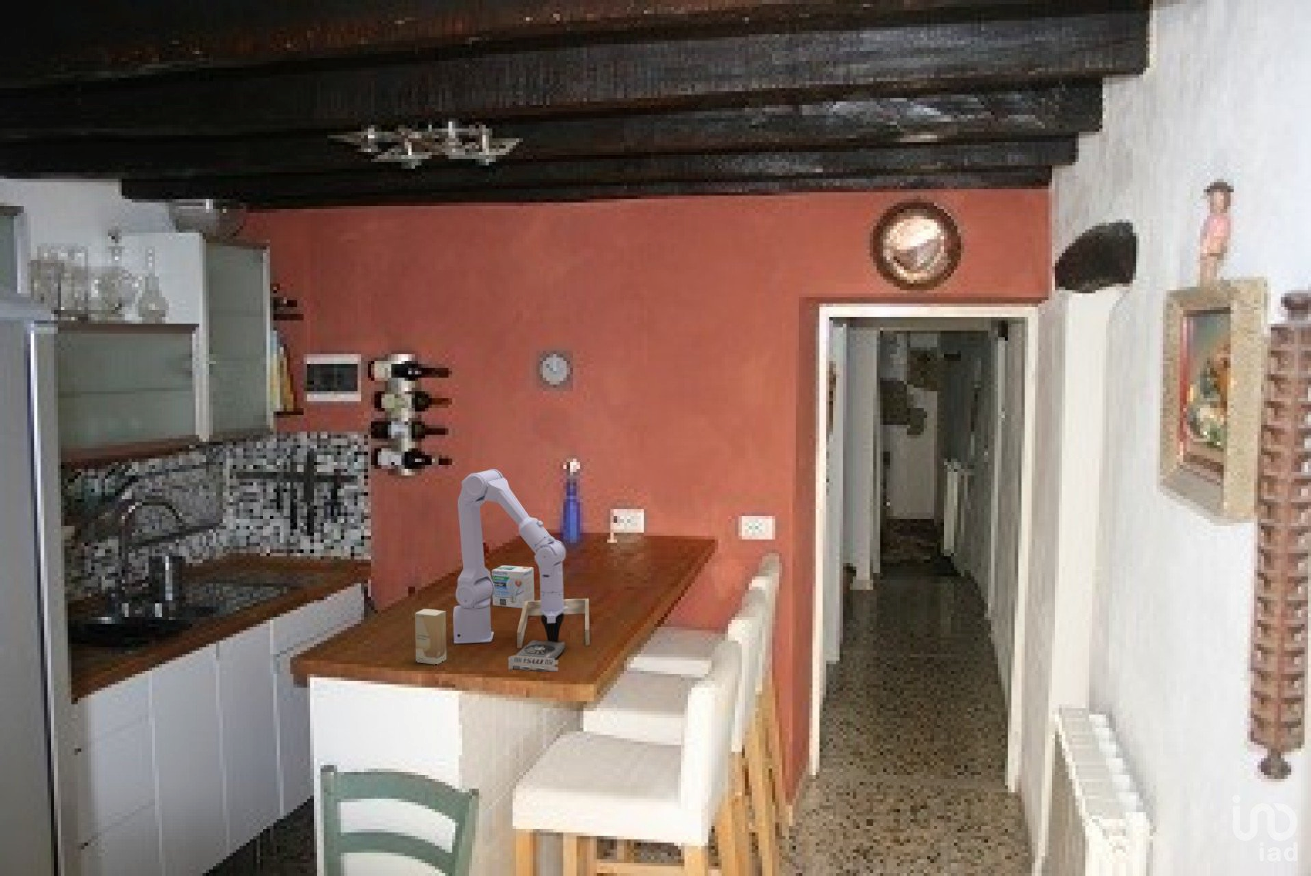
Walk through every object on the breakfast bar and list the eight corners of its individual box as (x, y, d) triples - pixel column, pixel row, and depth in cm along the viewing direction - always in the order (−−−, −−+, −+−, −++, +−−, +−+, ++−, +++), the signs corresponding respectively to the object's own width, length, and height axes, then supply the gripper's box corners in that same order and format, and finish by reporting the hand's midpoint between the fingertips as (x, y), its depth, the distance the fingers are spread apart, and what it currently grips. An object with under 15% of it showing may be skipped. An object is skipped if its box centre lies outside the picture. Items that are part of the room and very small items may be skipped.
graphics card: (556, 660, 225) (507, 656, 228) (556, 675, 226) (507, 672, 228) (576, 639, 242) (530, 636, 244) (576, 654, 242) (530, 651, 244)
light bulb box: (492, 605, 286) (490, 569, 285) (503, 600, 293) (502, 564, 292) (524, 608, 283) (523, 571, 282) (535, 602, 289) (534, 566, 288)
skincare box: (415, 662, 235) (413, 612, 234) (425, 657, 239) (423, 608, 238) (438, 665, 233) (436, 614, 232) (448, 659, 237) (446, 610, 236)
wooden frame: (517, 648, 245) (516, 632, 244) (524, 614, 275) (524, 601, 275) (589, 645, 246) (589, 629, 246) (589, 612, 277) (588, 598, 276)
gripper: (567, 597, 237) (568, 651, 238) (568, 582, 251) (569, 634, 252) (537, 598, 236) (539, 653, 237) (540, 583, 251) (542, 635, 252)
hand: (553, 643), depth 245 cm, fingers closed
